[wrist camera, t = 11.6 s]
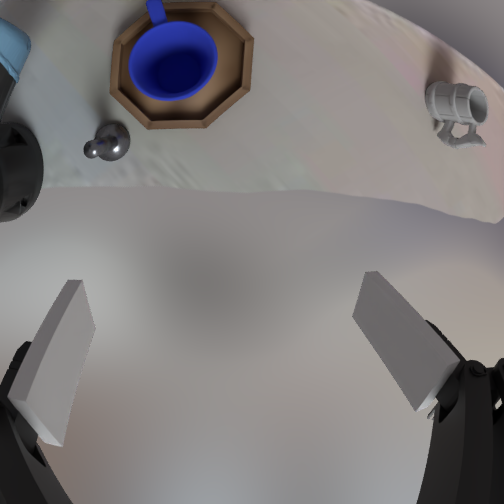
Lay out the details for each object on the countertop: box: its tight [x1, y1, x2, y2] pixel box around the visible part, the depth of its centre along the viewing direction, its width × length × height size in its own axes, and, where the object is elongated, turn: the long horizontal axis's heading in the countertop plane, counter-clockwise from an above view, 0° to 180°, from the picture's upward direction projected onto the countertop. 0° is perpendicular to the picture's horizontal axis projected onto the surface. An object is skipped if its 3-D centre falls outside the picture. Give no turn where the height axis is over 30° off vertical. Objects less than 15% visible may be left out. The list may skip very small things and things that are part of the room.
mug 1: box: [128, 0, 218, 101], centre depth 24 cm, size 8×12×10 cm
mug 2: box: [425, 81, 488, 149], centre depth 33 cm, size 8×12×12 cm, turn 174°
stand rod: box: [84, 124, 130, 161], centre depth 30 cm, size 5×5×8 cm
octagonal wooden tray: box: [110, 2, 254, 130], centre depth 29 cm, size 17×17×4 cm
